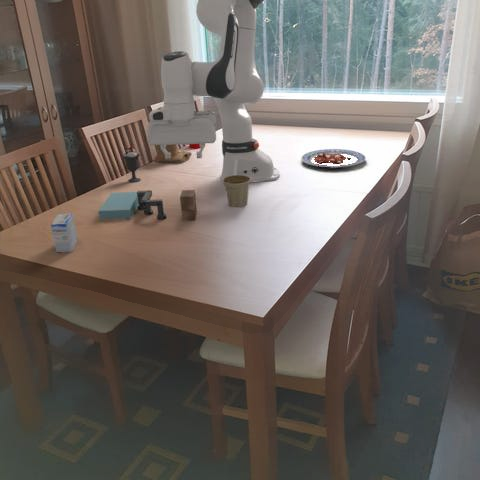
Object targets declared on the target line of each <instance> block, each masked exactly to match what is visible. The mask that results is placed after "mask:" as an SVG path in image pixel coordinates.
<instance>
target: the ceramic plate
mask: <svg viewBox="0 0 480 480" xmlns="http://www.w3.org/2000/svg"><path fill="white" fill-rule="evenodd" d="M341 154H347V155H351V156H354V157H356V158H357V159H358V160H357V161H356V162H355V163H352V164H348V165H340V166H327V165H319V164H322V163H333V164H341V163H343V160H345V159H346V157H344V156H343V155H341ZM316 156H317V157H316ZM312 158H315V159H314V160H315V162H317V163H319V164H314V163H312V162H311V160H312ZM366 158H367V157H366V156H365V155H364V153H363V154H362V153H361V152H359V151H355V150H350V149H341V148H339V149H338V148H328V149H325V148H324V149H317V150H312V151H308V152H305V153H304V154H303V155H302V156H301V158H300V159H301V161H302V162H303V163H305V164H307V165H310V166H315V167H318V166H319V167H318V168H323V167H333V168H332V169H336V168H335V167H343V168H348V167H353V166H357V165H359V164H362V163H364V162H365V161H366ZM347 159H348V160H350V159H351V158H348V157H347ZM329 161H330V162H329Z"/></svg>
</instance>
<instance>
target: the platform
mask: <svg viewBox="0 0 480 480" xmlns="http://www.w3.org/2000/svg"><path fill="white" fill-rule="evenodd" d="M137 206H139V204H138V197H137V191H127V192H110V194H109V196H108V197H107V199H105V201H104V203H103V204H101V206H100V208H99V209H98V212H97V213H98V218H99V220H100V221H102V220H129V219H131V218H132V217H133V215H134V214H135V212H136V210H137Z"/></svg>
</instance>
